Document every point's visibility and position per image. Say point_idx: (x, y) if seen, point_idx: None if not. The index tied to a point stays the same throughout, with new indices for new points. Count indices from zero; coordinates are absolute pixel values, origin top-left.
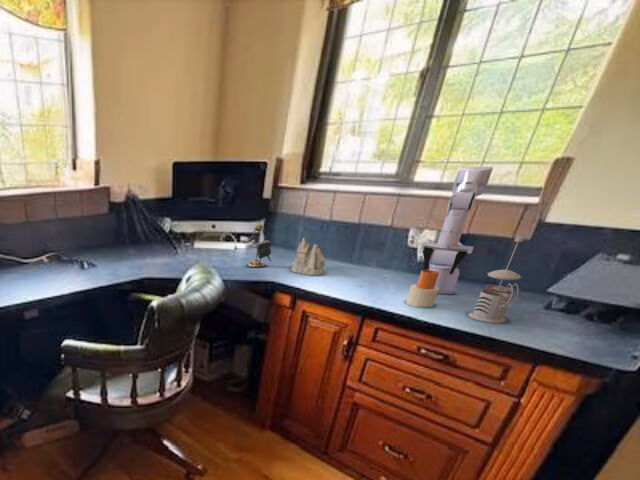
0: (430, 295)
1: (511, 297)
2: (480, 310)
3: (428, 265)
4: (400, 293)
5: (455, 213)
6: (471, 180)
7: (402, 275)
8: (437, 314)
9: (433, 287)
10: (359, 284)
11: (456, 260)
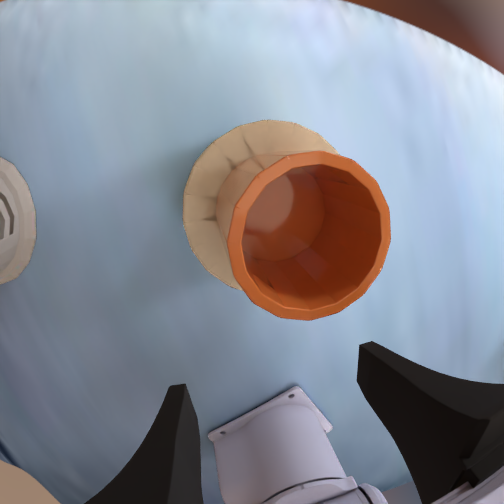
0: (203, 152)
1: None
2: (10, 257)
3: (372, 402)
4: (370, 301)
5: None
6: None
7: (390, 467)
8: (122, 83)
9: (217, 205)
10: (488, 291)
11: (152, 474)
